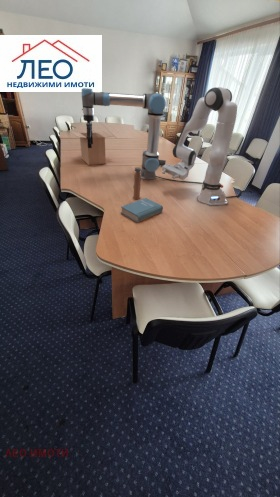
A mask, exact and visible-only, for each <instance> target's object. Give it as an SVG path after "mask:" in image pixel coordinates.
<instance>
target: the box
mask: <svg viewBox="0 0 280 497" xmlns="http://www.w3.org/2000/svg"><path fill="white" fill-rule="evenodd" d="M92 132H93V135H92V136H93V144H92V148H88V140H87V139H86V137H87V130H77V132H76V131H70V133H71V134H72V135H74V136H75V137H77V138H79V144H80V153H81V160H83V162H85V163H86V165H87V166H95V165H97V166H98V165H106V163H107V162H106V158H107V157H106V138H113V137H114V136H113V135H111V134H109V133H108V132H105V131H98V132H96V131H95V130H93V129H92Z"/></svg>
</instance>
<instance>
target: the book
mask: <svg viewBox="0 0 280 497" xmlns="http://www.w3.org/2000/svg"><path fill="white" fill-rule="evenodd" d="M163 209H164V206H163V204H160V203H158V202H157V201H154V200H152V199H149V198H147V197H144V198H141V199H138V200H136V201H133V202H130V203H127V204H124V205H122V206H121V212H120V214H121V215H122V216H125V217H127V218H128V219H130V220H131V221H133V222H135V223H140V222H142V221H144V220H147V219H149V218H151V217H153V216H156V215H159V214H161V213H163Z"/></svg>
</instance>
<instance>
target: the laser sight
mask: <svg viewBox="0 0 280 497" xmlns="http://www.w3.org/2000/svg"><path fill="white" fill-rule="evenodd" d="M158 161H159V166H161V167H162V166H164V165H166V163H167V160H166V159H165V160H164V159H159V160H158Z"/></svg>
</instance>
